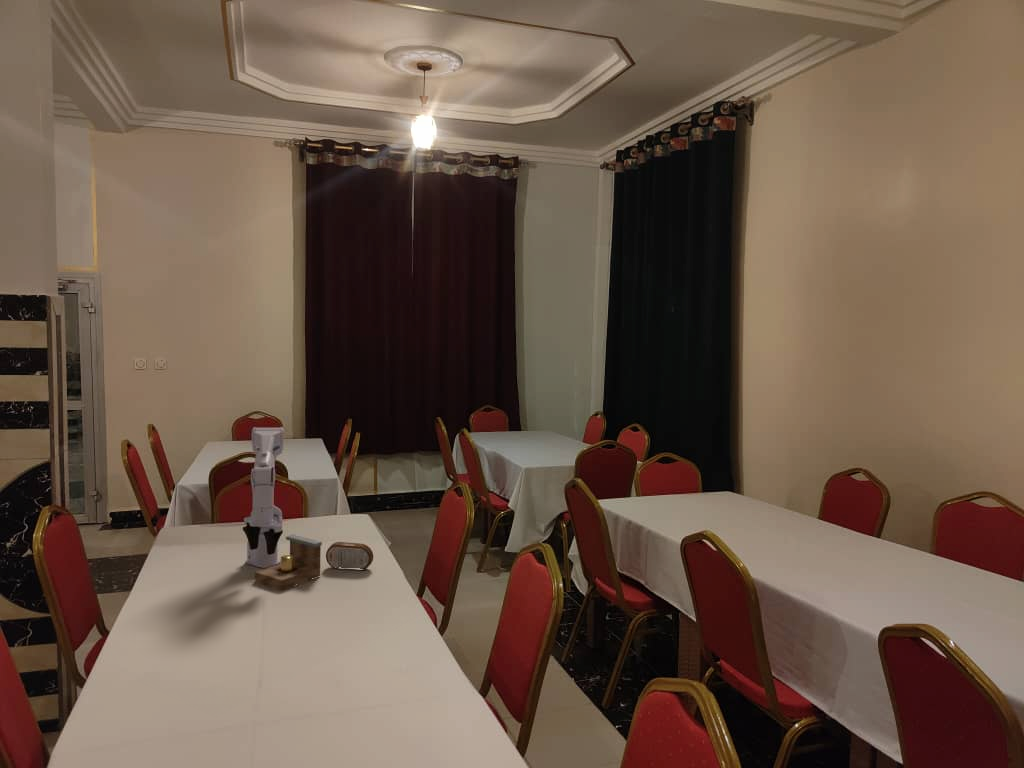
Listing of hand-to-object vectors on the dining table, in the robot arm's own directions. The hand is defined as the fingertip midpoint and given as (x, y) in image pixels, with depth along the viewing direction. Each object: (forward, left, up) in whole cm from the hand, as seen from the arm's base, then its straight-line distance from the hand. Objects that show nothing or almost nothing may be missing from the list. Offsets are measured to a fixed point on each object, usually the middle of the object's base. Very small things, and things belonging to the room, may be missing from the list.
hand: (262, 551), depth 210 cm
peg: (+4, +6, -9) cm, 12 cm away
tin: (+12, +24, -10) cm, 29 cm away
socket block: (+4, +6, -9) cm, 12 cm away
